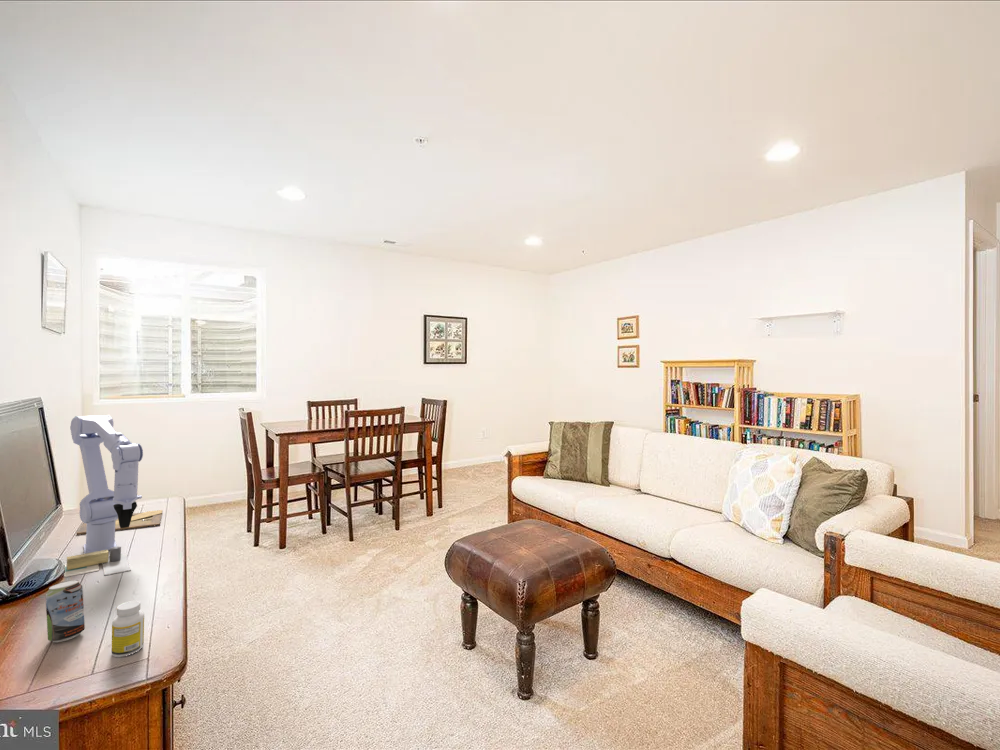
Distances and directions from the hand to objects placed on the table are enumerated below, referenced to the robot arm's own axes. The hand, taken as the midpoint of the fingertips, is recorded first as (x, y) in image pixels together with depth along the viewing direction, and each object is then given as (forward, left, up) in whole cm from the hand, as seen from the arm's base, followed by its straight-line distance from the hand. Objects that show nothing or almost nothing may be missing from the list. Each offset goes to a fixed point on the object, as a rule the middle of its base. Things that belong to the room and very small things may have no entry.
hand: (124, 527), depth 148 cm
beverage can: (+46, -13, -10) cm, 48 cm away
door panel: (+4, -6, -10) cm, 12 cm away
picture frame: (-41, +2, -11) cm, 43 cm away
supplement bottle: (+60, -3, -10) cm, 60 cm away
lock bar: (+1, -8, -9) cm, 13 cm away
